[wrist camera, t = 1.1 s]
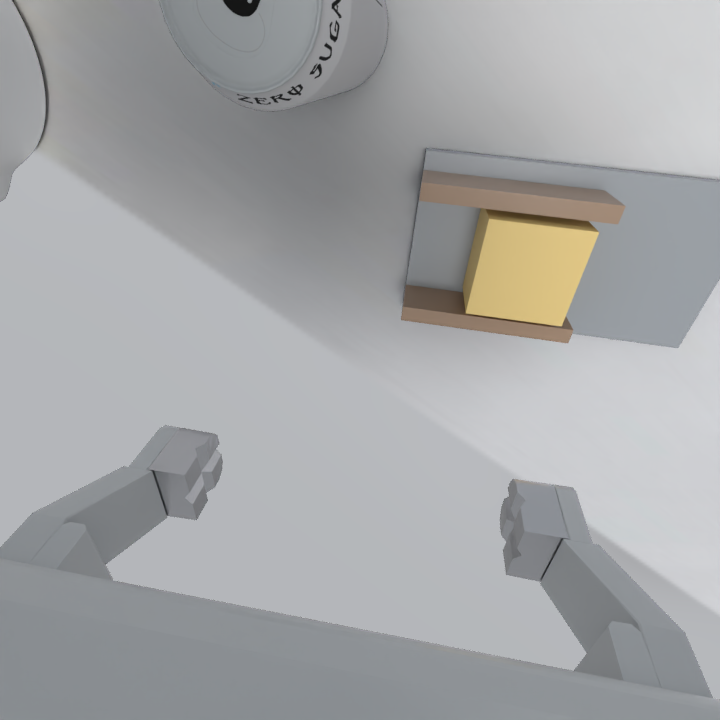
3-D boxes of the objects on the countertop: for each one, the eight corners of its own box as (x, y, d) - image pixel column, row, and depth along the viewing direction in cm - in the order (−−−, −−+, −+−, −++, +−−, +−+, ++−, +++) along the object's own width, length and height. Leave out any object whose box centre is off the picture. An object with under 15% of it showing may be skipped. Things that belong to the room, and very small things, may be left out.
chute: (402, 304, 33) (398, 333, 30) (426, 147, 27) (425, 160, 23) (671, 341, 32) (702, 376, 28) (762, 184, 26) (817, 205, 22)
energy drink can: (268, 51, 25) (112, 39, 13) (315, -73, 22) (166, -242, 10) (354, 113, 27) (286, 155, 14) (411, 5, 23) (385, -61, 11)
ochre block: (462, 287, 31) (465, 313, 28) (482, 200, 27) (489, 219, 24) (548, 298, 30) (561, 326, 27) (579, 212, 27) (599, 232, 24)
